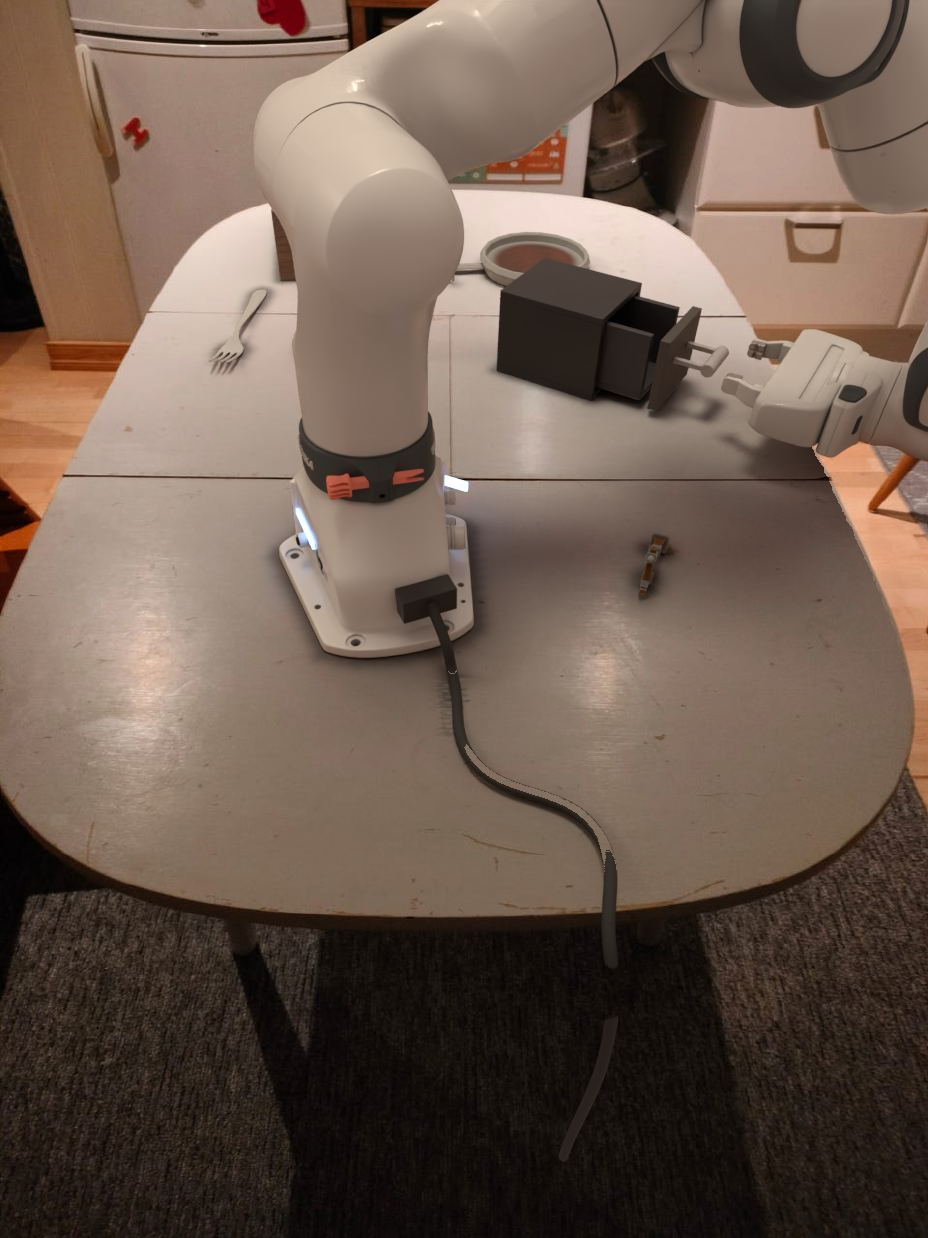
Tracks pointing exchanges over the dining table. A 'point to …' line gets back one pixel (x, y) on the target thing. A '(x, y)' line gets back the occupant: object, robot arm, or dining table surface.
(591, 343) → the drawer box
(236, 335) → the fork
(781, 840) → the dining table surface
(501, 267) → the frying pan
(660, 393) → the dark grey drawer
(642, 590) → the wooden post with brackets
